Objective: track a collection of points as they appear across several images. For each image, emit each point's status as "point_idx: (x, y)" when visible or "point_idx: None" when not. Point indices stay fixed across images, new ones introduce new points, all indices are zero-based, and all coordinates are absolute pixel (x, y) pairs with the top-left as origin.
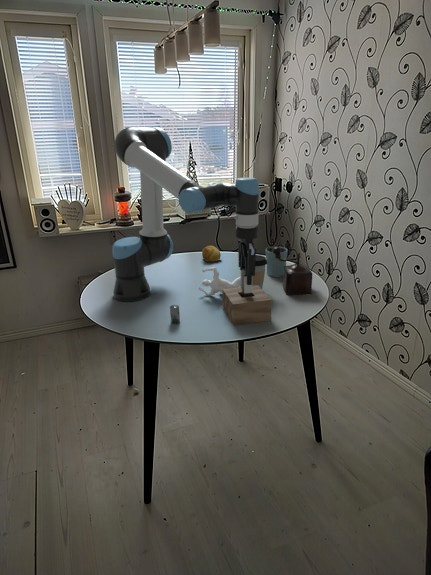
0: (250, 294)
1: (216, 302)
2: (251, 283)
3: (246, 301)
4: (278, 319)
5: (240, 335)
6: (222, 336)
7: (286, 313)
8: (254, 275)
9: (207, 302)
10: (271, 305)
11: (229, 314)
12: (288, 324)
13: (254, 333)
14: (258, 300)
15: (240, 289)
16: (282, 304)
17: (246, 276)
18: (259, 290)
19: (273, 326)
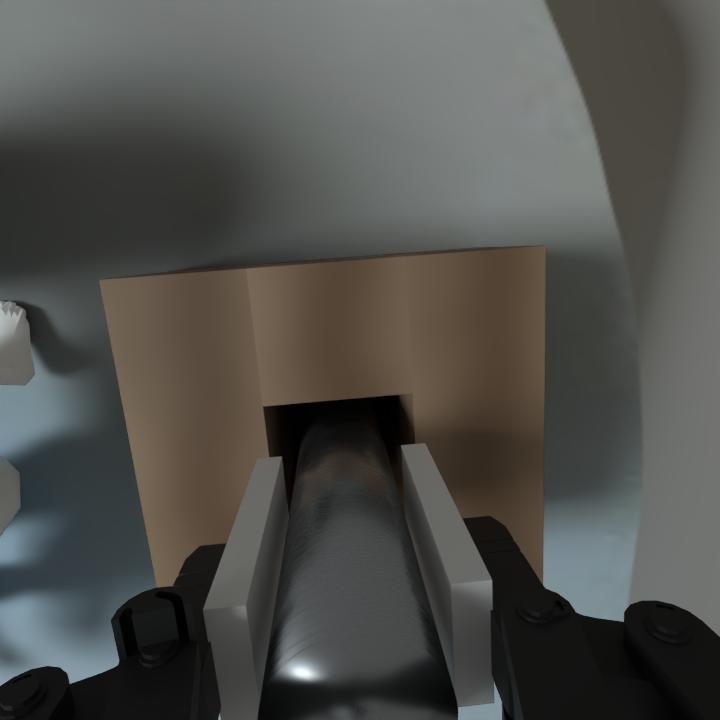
0: (369, 433)
1: (100, 566)
2: (507, 531)
3: (517, 501)
4: (475, 186)
5: (615, 492)
6: (594, 588)
7: (389, 81)
8: (679, 613)
9: (93, 624)
10: (519, 246)
11: None
12: (570, 136)
13: (618, 407)
14: (528, 387)
15: (203, 501)
16: (208, 49)
17: (489, 670)
18: (267, 308)
19: (567, 258)
